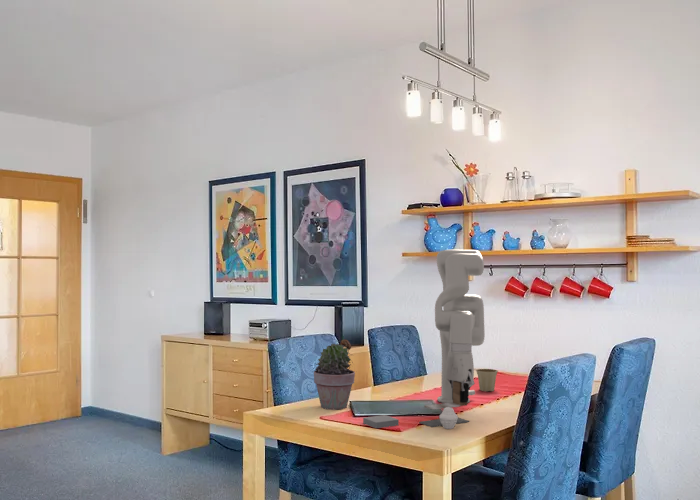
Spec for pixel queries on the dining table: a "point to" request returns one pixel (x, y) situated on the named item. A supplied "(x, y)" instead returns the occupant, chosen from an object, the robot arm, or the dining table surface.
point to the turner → (455, 398)
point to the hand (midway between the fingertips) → (460, 400)
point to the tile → (380, 421)
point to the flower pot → (486, 379)
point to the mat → (438, 423)
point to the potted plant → (334, 376)
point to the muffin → (448, 418)
